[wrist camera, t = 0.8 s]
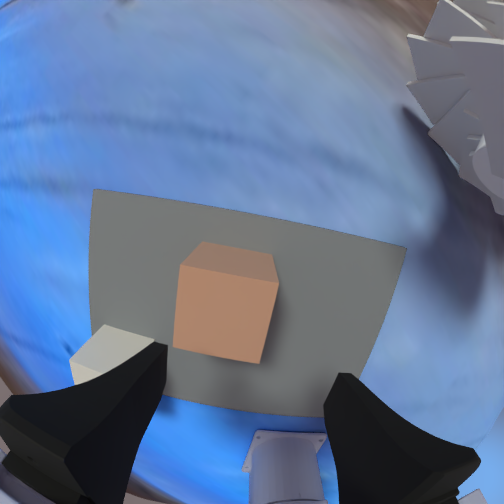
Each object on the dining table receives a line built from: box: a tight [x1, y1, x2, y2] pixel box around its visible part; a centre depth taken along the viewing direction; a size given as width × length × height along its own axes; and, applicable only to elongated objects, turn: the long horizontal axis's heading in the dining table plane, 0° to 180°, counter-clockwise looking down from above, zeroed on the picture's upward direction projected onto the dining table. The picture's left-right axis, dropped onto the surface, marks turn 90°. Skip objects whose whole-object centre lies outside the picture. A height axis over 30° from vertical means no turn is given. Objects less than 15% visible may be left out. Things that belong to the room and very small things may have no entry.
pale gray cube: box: [69, 324, 155, 385], centre depth 19 cm, size 5×5×6 cm
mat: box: [89, 189, 407, 417], centre depth 21 cm, size 18×25×1 cm
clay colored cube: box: [173, 241, 279, 364], centre depth 17 cm, size 5×5×6 cm
